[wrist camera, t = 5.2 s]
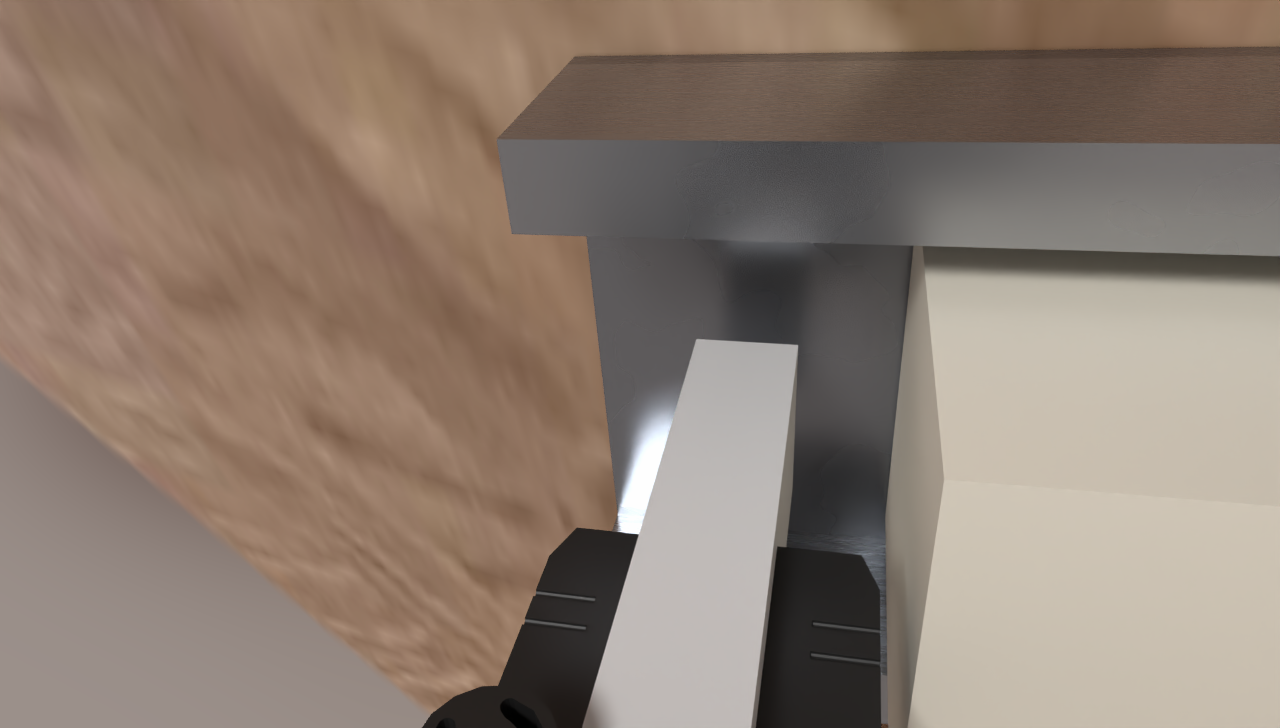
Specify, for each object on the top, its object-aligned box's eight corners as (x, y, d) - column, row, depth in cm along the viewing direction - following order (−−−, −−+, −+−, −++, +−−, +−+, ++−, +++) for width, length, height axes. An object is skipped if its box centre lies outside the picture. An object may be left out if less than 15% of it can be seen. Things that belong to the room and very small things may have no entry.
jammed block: (918, 199, 13) (943, 479, 8) (1599, 213, 11) (2154, 576, 6) (885, 516, 16) (889, 848, 11) (1407, 563, 14) (1676, 978, 10)
